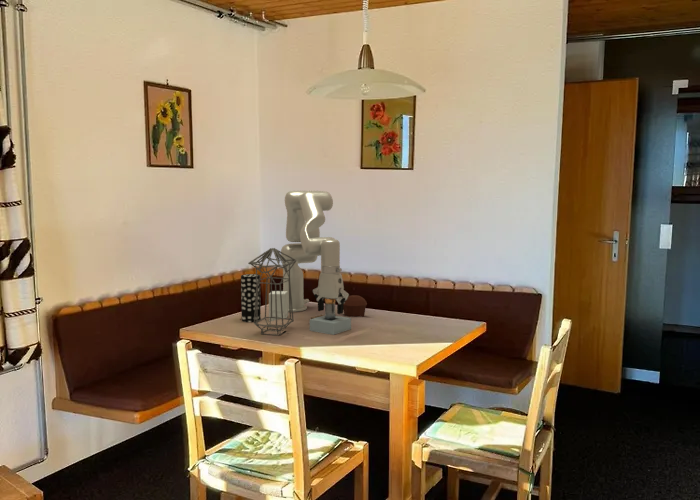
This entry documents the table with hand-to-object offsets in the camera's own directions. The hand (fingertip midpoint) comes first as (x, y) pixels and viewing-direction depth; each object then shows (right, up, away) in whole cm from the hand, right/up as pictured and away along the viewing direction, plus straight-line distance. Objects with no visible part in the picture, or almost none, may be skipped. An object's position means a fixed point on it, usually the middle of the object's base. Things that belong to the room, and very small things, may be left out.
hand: (330, 312), depth 262 cm
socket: (0, -9, +1) cm, 9 cm away
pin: (0, -8, +1) cm, 8 cm away
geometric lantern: (-23, -9, +1) cm, 25 cm away
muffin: (+10, -6, +31) cm, 33 cm away
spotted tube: (-36, -6, +25) cm, 44 cm away
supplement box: (-24, -6, +25) cm, 35 cm away
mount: (-4, -7, +13) cm, 16 cm away
